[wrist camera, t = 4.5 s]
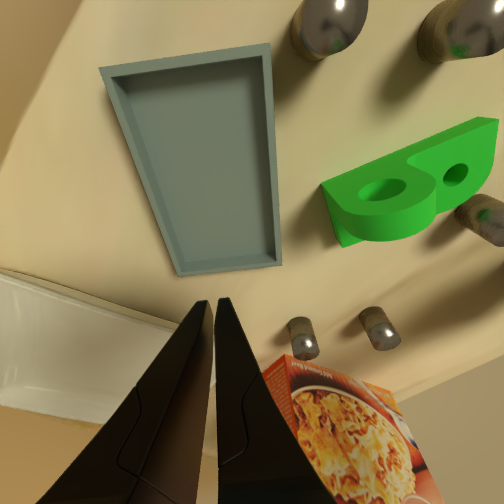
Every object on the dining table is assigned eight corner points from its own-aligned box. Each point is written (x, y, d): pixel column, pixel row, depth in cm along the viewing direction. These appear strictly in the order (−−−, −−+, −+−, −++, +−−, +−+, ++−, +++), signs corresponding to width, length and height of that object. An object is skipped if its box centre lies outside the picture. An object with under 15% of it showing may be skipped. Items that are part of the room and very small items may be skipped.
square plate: (244, 326, 31) (244, 353, 28) (175, 411, 44) (170, 437, 41) (-4, 244, 23) (-44, 269, 20) (2, 379, 36) (-22, 407, 33)
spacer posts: (614, -51, 13) (738, -97, 10) (435, 318, 31) (458, 346, 27) (273, 1, 14) (282, -26, 11) (288, 333, 31) (293, 361, 28)
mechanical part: (335, 236, 24) (371, 294, 17) (320, 182, 20) (357, 227, 14) (469, 187, 21) (572, 232, 14) (475, 116, 18) (611, 132, 11)
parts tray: (267, 47, 15) (270, 42, 13) (279, 253, 24) (282, 265, 22) (113, 69, 15) (98, 67, 14) (182, 264, 24) (178, 277, 23)
